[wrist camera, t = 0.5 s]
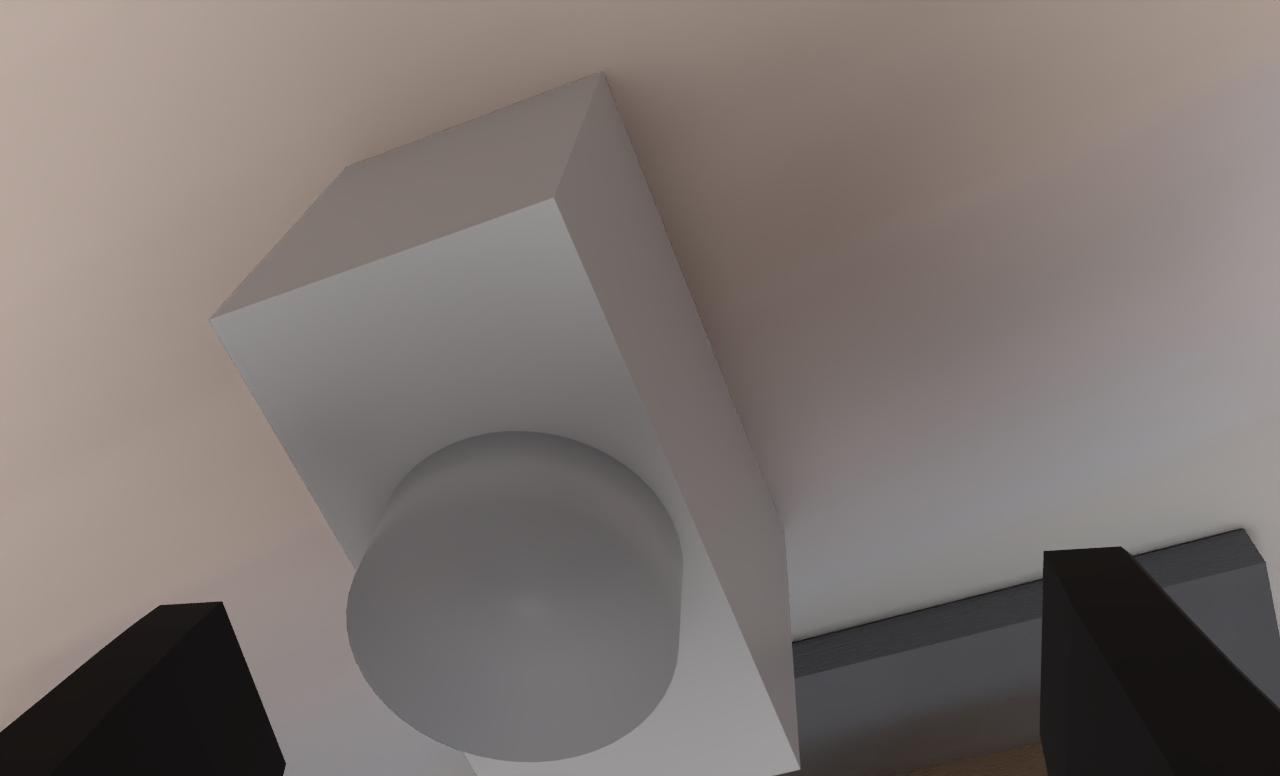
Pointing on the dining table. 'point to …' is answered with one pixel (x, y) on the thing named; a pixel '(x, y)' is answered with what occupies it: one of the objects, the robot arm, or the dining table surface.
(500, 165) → the grey block
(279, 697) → the dining table surface
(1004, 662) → the duct plate
